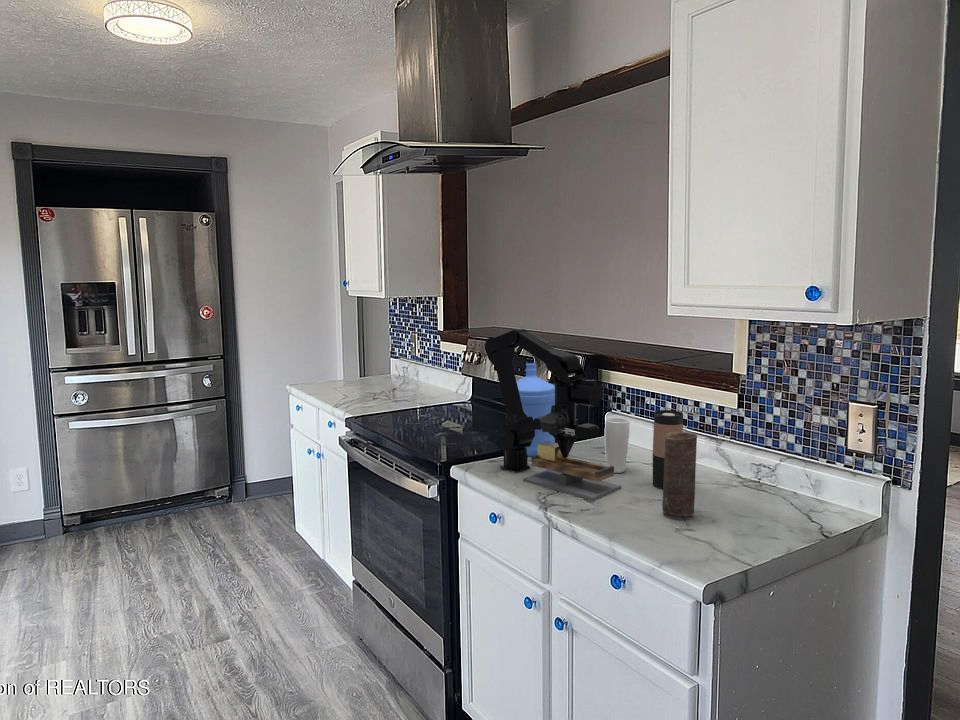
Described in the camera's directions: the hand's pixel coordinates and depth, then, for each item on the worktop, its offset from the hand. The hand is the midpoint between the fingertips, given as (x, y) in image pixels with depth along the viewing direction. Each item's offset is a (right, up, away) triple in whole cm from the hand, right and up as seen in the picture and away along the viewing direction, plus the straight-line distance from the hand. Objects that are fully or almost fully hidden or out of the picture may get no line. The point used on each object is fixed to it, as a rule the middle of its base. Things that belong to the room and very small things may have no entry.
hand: (564, 457), depth 189 cm
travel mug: (+27, -7, -1) cm, 28 cm away
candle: (+24, -11, -23) cm, 35 cm away
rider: (-3, -2, +4) cm, 5 cm away
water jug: (-7, -3, +34) cm, 34 cm away
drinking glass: (+16, -6, +12) cm, 21 cm away
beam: (+2, -3, -1) cm, 3 cm away
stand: (+2, -7, -1) cm, 7 cm away
